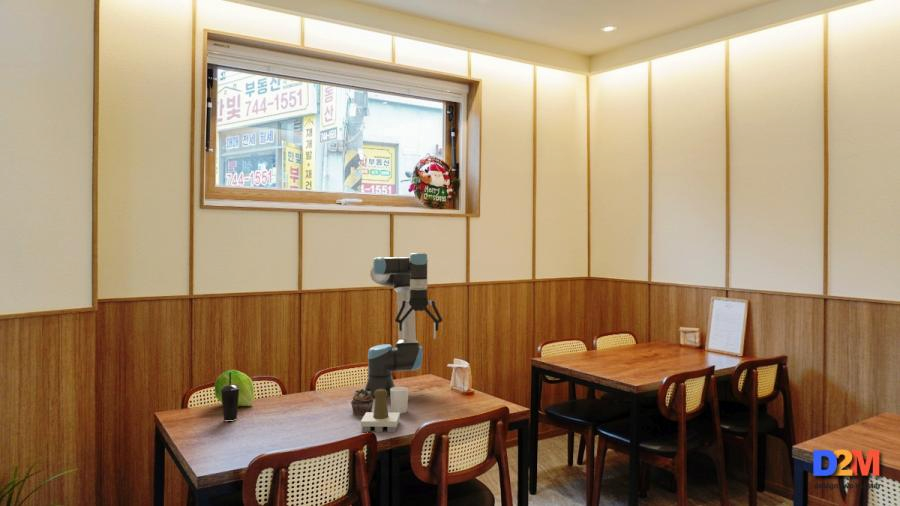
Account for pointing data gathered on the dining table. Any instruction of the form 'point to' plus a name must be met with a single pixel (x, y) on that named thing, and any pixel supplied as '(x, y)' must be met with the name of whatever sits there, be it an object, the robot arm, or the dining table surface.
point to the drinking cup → (230, 400)
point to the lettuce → (240, 380)
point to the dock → (380, 422)
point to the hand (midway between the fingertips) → (418, 338)
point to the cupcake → (362, 402)
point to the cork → (380, 404)
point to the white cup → (399, 399)
